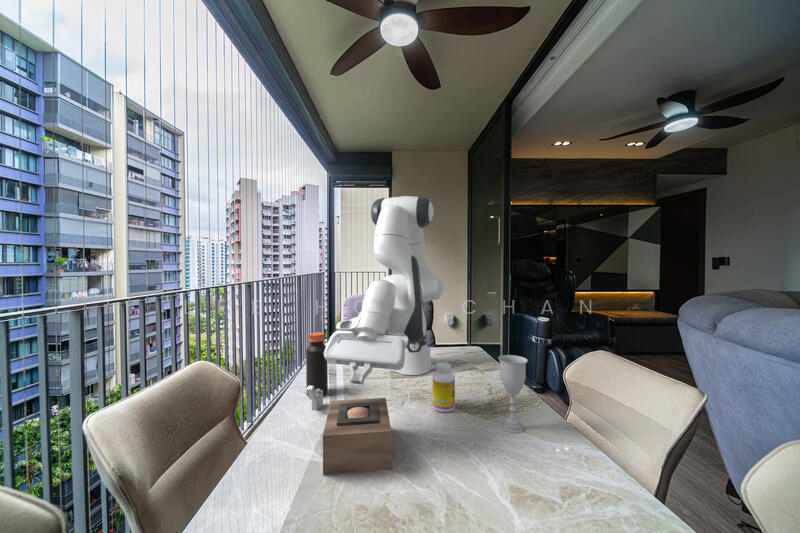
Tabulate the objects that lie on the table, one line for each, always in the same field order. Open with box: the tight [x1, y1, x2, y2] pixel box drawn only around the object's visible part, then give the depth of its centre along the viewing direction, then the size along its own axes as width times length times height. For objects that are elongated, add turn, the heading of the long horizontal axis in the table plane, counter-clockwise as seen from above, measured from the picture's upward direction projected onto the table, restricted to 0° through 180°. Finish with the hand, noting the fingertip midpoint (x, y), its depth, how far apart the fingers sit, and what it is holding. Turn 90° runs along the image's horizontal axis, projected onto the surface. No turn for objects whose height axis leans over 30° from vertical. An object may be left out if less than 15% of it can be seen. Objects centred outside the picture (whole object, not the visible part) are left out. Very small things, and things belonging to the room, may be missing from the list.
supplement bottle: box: [432, 362, 456, 413], centre depth 90 cm, size 7×7×13 cm
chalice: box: [497, 354, 528, 434], centre depth 79 cm, size 7×7×18 cm
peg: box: [347, 407, 369, 418], centre depth 70 cm, size 5×5×8 cm
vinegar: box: [305, 331, 329, 397], centre depth 100 cm, size 7×7×20 cm
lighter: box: [305, 386, 324, 412], centre depth 90 cm, size 7×2×8 cm, turn 168°
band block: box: [322, 397, 392, 476], centre depth 70 cm, size 16×14×9 cm
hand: (356, 383), depth 70 cm, fingers closed
